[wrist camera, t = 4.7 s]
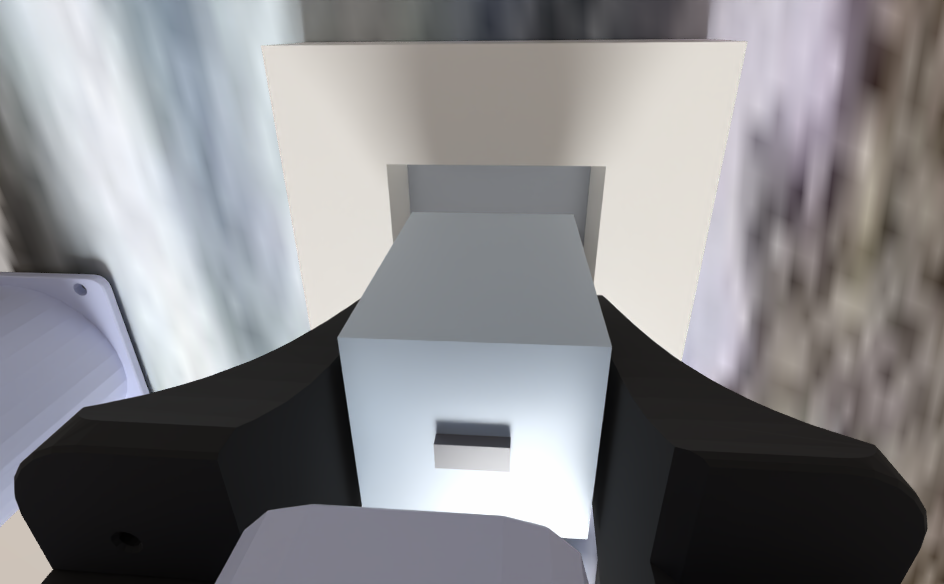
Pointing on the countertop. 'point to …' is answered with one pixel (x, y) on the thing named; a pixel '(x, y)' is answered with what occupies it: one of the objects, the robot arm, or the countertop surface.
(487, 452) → the block
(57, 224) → the countertop surface
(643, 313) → the block
